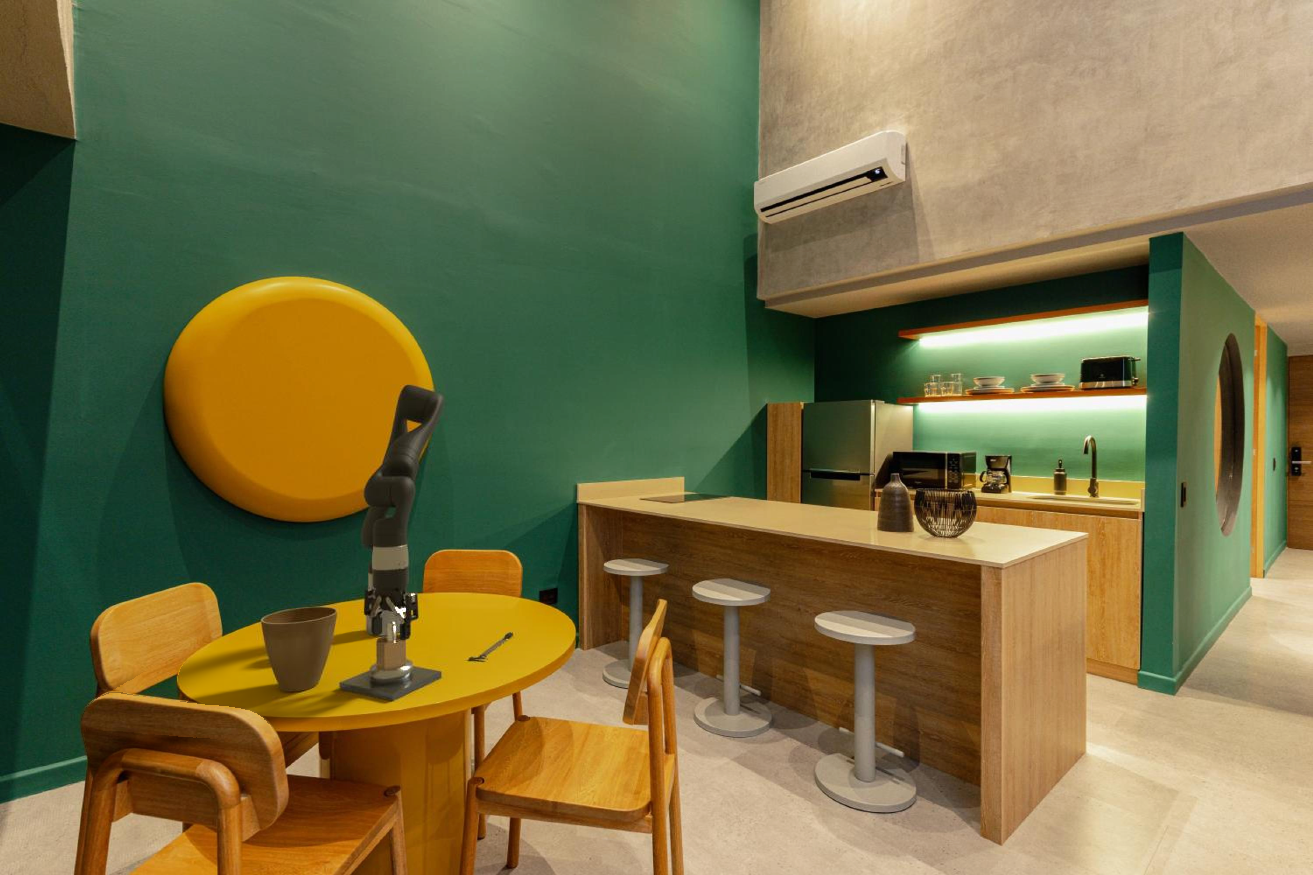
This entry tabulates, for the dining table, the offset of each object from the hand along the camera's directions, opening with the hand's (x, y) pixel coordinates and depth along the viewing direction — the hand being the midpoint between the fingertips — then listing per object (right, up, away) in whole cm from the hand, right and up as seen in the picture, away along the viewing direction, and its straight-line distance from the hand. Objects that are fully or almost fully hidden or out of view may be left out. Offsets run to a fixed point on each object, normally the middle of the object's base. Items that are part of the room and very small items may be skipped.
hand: (390, 637), depth 140 cm
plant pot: (-20, -11, -1) cm, 23 cm away
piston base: (0, -10, 0) cm, 10 cm away
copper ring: (0, -6, 0) cm, 6 cm away
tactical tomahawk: (+18, -11, +24) cm, 32 cm away
